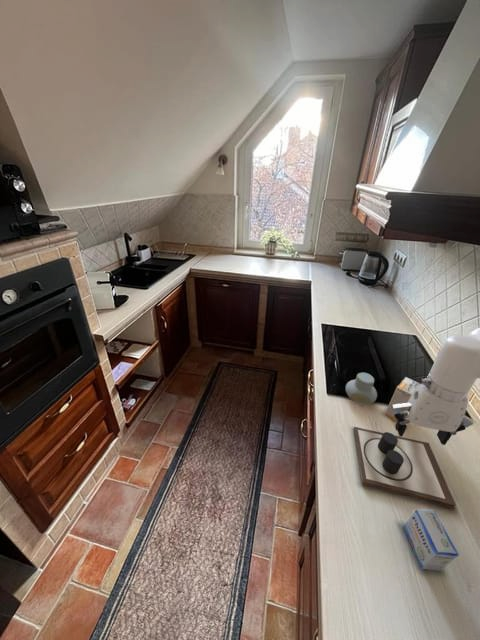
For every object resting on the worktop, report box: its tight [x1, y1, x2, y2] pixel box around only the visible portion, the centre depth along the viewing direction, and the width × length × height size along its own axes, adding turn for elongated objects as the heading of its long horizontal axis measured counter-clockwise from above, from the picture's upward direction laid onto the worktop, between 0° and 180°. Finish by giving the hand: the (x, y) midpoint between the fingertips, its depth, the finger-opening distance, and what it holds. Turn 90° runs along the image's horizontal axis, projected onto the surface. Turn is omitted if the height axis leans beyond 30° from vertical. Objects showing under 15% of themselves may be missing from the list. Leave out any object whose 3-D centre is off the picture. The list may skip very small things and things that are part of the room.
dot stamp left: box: [378, 431, 398, 454], centre depth 76 cm, size 4×4×5 cm
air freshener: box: [345, 372, 378, 405], centre depth 95 cm, size 11×8×10 cm
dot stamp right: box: [382, 450, 404, 474], centre depth 71 cm, size 4×4×5 cm
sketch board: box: [352, 426, 457, 509], centre depth 74 cm, size 22×18×2 cm
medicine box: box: [402, 508, 460, 571], centre depth 55 cm, size 8×4×9 cm, turn 178°
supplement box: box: [384, 376, 420, 422], centre depth 88 cm, size 8×5×13 cm, turn 131°
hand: (419, 435), depth 66 cm, fingers open, 9 cm apart
